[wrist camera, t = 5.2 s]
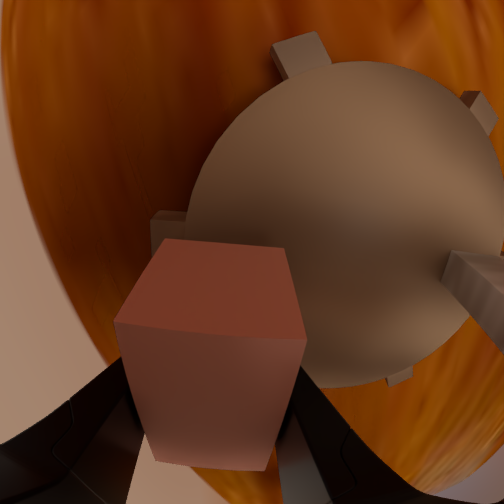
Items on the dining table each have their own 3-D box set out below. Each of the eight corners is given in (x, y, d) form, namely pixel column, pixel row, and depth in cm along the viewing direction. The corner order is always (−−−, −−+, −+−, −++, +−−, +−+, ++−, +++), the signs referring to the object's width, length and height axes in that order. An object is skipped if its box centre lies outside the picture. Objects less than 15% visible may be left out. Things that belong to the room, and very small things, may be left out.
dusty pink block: (283, 248, 9) (307, 340, 5) (260, 384, 11) (264, 471, 7) (164, 238, 8) (113, 321, 5) (174, 376, 11) (155, 460, 7)
